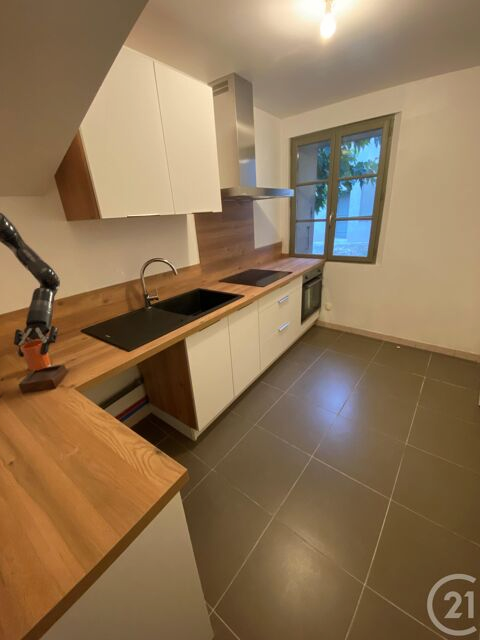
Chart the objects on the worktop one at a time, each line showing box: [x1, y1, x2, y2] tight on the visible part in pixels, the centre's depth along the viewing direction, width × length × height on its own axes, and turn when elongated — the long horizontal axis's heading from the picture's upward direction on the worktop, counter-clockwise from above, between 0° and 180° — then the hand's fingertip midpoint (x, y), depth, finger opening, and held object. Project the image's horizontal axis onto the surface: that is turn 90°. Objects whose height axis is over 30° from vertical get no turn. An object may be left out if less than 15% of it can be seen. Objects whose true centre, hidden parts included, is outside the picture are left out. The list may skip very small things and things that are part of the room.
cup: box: [20, 339, 52, 372], centre depth 96 cm, size 7×7×9 cm
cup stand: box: [18, 363, 68, 395], centre depth 99 cm, size 11×11×4 cm
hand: (32, 355), depth 94 cm, fingers closed on cup, 6 cm apart
